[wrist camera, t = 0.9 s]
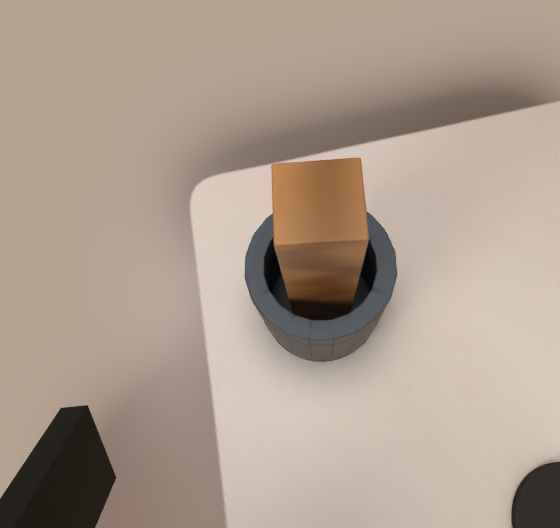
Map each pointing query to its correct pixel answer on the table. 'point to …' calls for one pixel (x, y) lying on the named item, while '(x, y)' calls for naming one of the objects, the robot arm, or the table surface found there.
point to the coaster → (538, 499)
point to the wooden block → (320, 234)
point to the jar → (320, 333)
